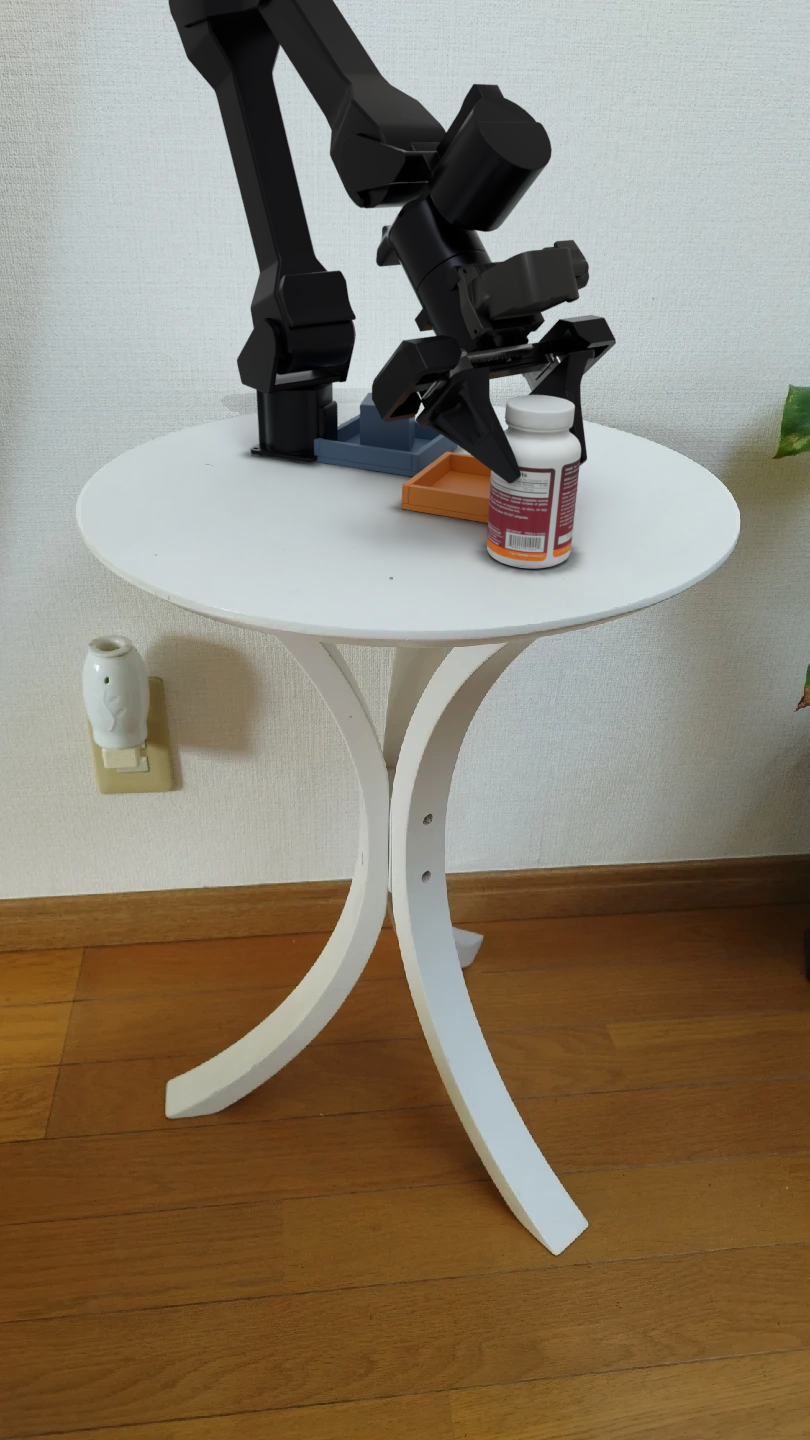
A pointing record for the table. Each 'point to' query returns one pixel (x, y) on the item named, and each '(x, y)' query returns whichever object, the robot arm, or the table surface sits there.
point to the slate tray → (382, 450)
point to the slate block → (384, 429)
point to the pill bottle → (536, 485)
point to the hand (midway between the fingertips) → (549, 471)
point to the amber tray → (450, 488)
